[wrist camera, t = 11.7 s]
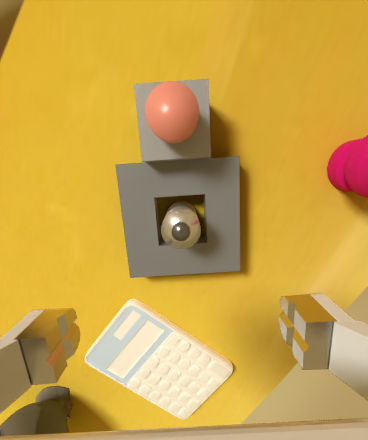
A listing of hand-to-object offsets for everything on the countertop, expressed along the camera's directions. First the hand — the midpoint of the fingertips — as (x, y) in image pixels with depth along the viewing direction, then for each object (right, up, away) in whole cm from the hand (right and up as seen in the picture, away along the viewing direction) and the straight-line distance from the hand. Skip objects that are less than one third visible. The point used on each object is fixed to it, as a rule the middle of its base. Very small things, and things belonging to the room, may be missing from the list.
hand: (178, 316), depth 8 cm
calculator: (-4, -18, +26) cm, 32 cm away
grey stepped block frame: (0, +8, +19) cm, 21 cm away
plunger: (-1, +13, +11) cm, 17 cm away
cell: (0, +4, +20) cm, 20 cm away
